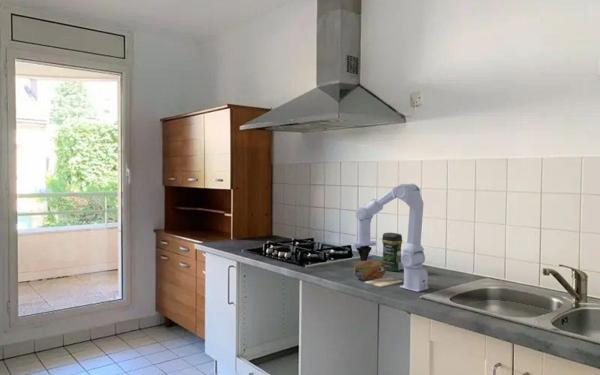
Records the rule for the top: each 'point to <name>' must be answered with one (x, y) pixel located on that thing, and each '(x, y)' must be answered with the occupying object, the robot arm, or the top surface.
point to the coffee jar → (392, 251)
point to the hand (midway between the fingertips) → (363, 262)
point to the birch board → (383, 281)
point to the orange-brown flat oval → (369, 270)
